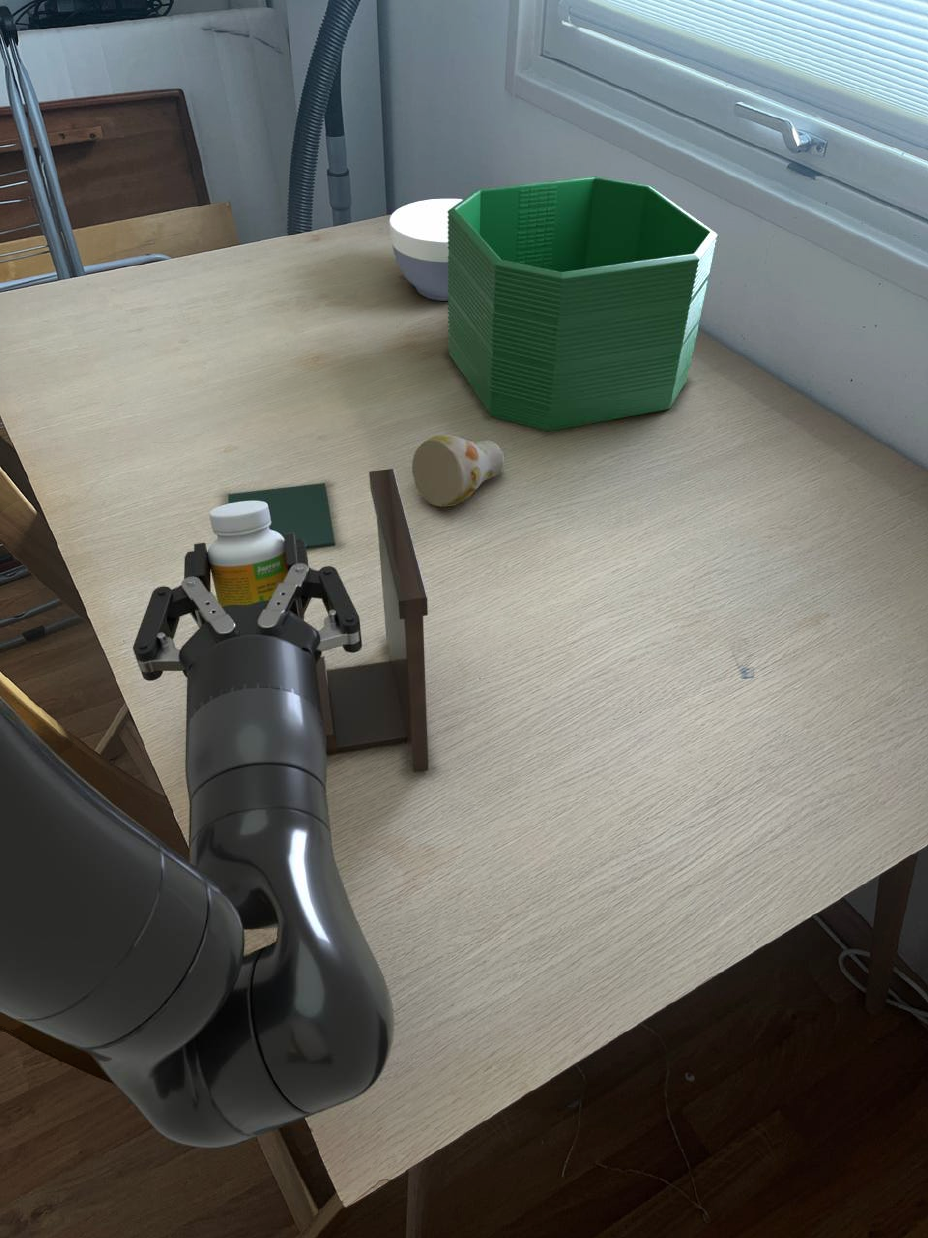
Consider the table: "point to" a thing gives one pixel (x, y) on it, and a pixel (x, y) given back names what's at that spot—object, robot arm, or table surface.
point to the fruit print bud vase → (454, 468)
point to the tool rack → (393, 690)
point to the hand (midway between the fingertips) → (246, 548)
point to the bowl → (423, 245)
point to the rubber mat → (296, 512)
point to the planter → (574, 299)
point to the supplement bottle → (245, 553)
